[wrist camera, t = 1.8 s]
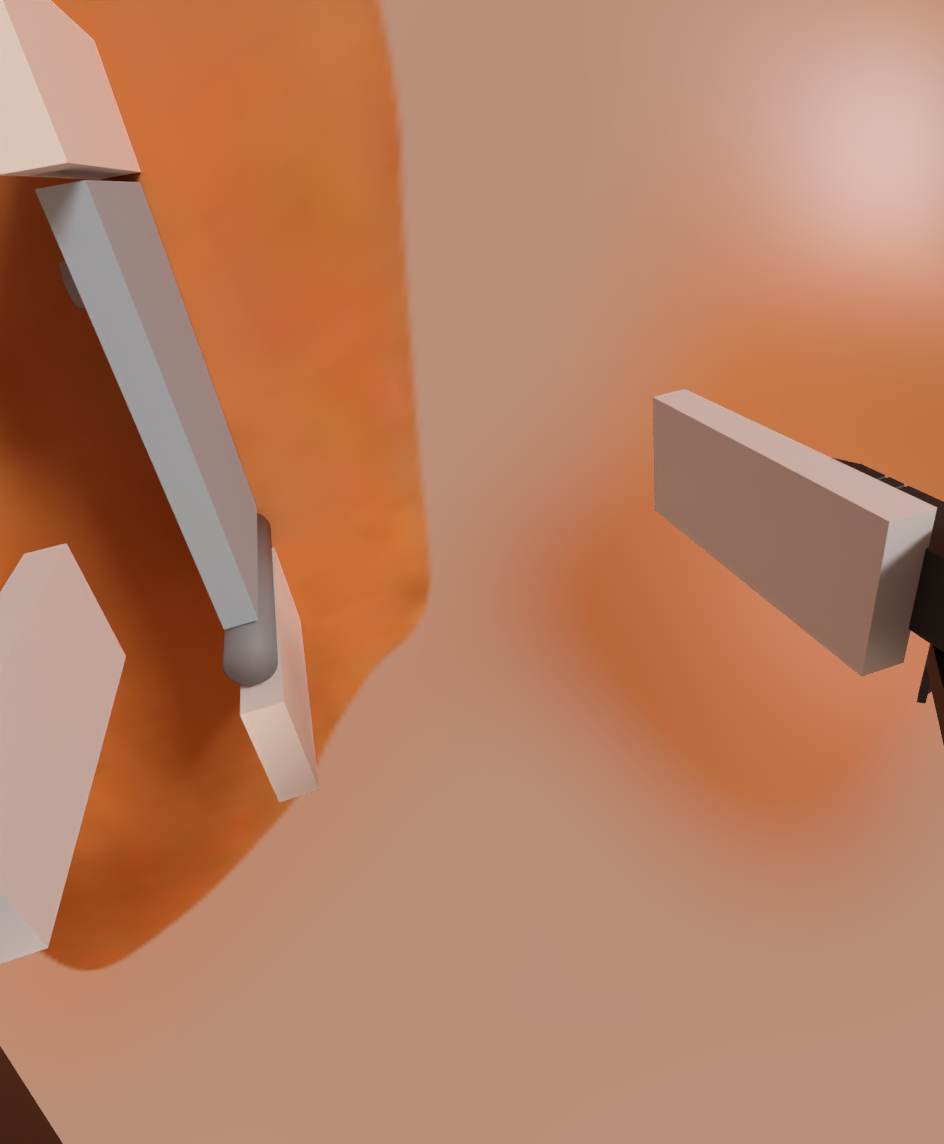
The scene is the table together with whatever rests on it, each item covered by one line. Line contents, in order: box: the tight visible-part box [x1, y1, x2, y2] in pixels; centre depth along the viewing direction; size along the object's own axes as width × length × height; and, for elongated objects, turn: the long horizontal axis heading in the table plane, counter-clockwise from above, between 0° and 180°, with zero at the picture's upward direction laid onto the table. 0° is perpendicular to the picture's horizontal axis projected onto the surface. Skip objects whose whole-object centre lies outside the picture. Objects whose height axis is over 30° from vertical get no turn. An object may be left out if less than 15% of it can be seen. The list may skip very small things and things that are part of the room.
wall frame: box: [0, 0, 319, 802], centre depth 25 cm, size 24×2×12 cm, turn 10°
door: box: [35, 180, 278, 685], centre depth 25 cm, size 15×3×11 cm, turn 10°
